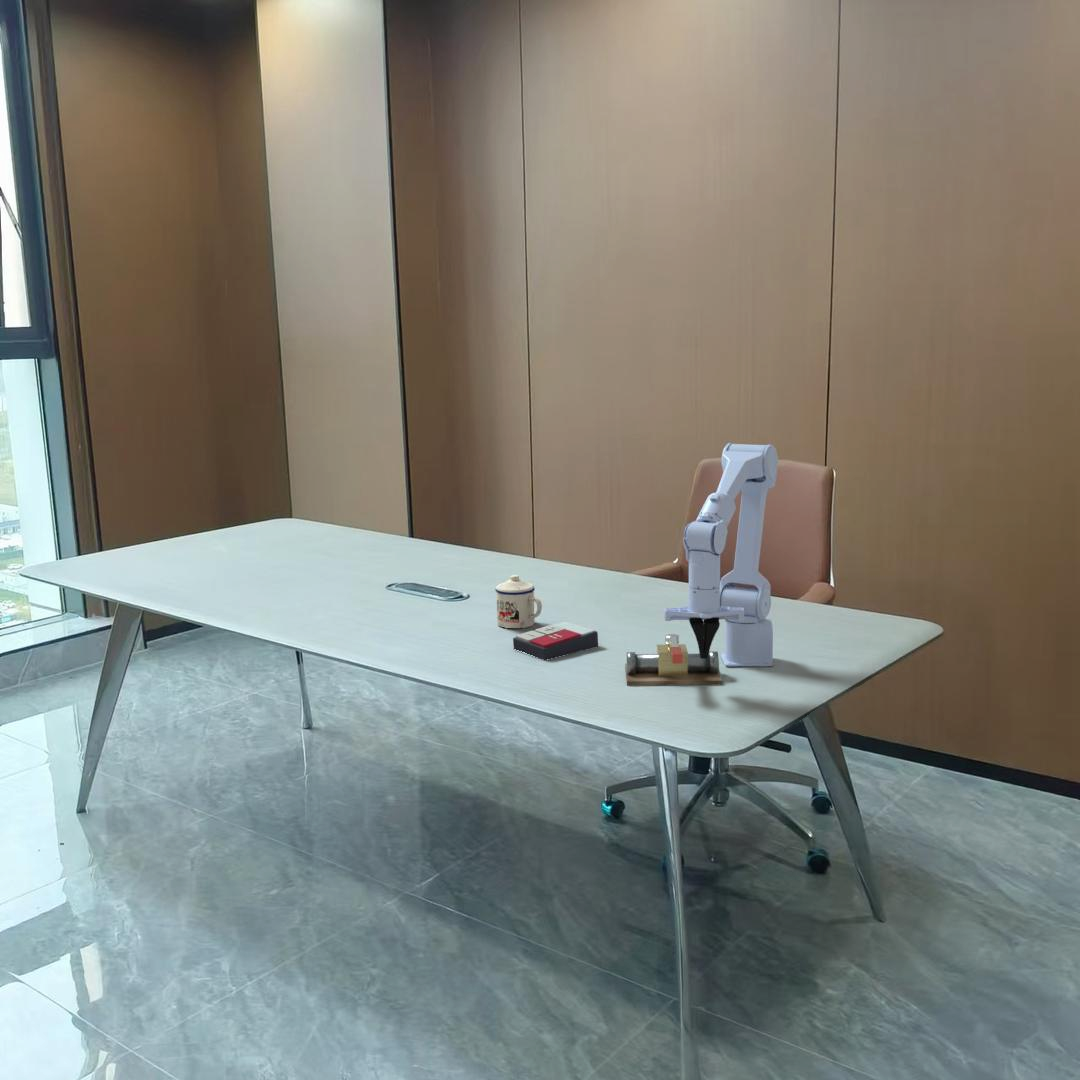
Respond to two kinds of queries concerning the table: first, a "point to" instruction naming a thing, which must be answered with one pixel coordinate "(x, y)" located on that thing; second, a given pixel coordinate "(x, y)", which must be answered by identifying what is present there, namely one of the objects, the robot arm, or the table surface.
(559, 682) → the table surface
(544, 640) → the calculator
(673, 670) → the valve
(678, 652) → the lever
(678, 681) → the board
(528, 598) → the teacup with lid
